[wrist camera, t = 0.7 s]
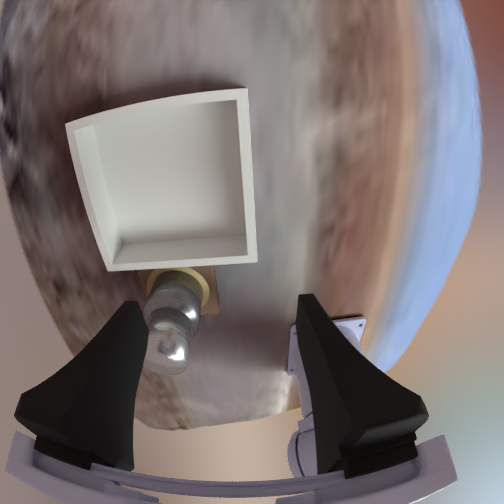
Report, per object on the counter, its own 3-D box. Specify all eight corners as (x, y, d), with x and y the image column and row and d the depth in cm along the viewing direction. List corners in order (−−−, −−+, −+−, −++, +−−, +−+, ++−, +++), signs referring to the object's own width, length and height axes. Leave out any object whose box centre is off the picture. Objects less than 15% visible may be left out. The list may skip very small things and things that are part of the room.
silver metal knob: (206, 308, 23) (200, 379, 18) (159, 309, 23) (143, 377, 18) (198, 268, 21) (186, 342, 15) (146, 271, 21) (121, 341, 15)
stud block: (219, 302, 25) (218, 315, 24) (156, 304, 25) (153, 316, 24) (210, 246, 22) (208, 258, 21) (138, 251, 22) (133, 263, 21)
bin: (255, 237, 22) (257, 262, 19) (121, 247, 22) (107, 271, 19) (246, 87, 16) (247, 88, 13) (88, 115, 15) (65, 123, 13)
